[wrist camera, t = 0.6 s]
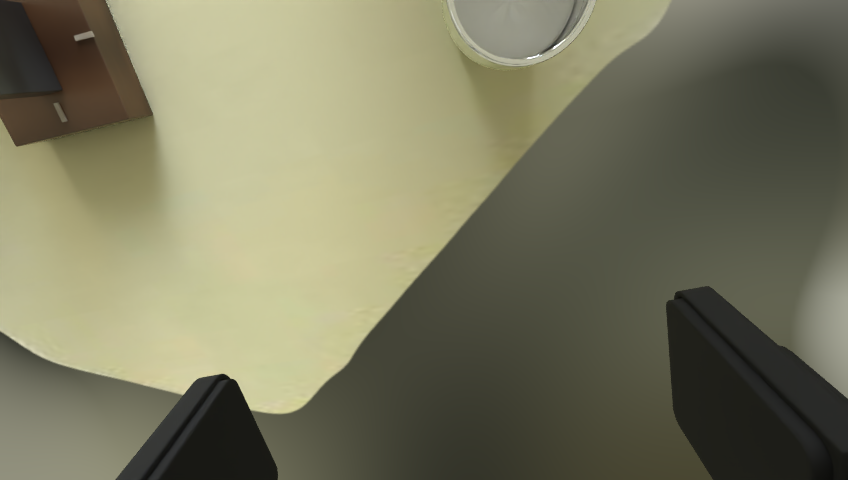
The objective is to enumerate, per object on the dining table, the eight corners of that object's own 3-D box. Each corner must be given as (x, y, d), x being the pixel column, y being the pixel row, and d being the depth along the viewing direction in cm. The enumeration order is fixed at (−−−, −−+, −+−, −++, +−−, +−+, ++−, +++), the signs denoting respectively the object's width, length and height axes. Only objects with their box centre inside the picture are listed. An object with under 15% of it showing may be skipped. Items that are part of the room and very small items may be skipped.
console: (-34, -17, 34) (-79, -24, 31) (85, -53, 33) (49, -64, 30) (46, 141, 39) (12, 147, 36) (154, 114, 37) (129, 118, 34)
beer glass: (545, 57, 34) (611, 53, 20) (453, 76, 35) (455, 86, 21) (534, -49, 32) (600, -137, 18) (436, -25, 33) (425, -90, 19)
